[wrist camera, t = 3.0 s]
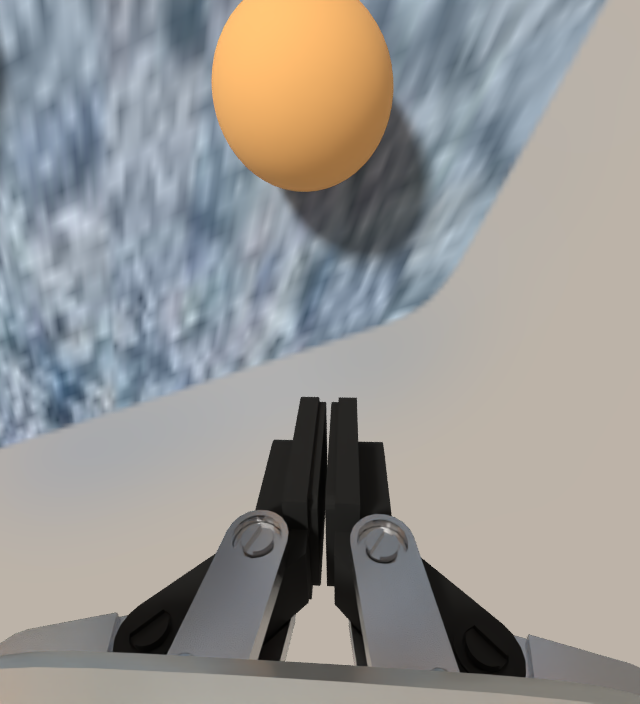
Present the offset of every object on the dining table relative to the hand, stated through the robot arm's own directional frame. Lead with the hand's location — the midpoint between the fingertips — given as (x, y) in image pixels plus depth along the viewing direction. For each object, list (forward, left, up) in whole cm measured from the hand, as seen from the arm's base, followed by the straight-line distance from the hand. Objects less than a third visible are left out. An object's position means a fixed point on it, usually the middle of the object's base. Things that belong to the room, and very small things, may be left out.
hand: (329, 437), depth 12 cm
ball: (-1, +9, -6) cm, 11 cm away
